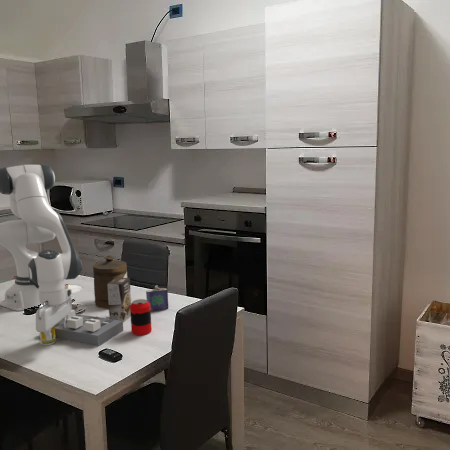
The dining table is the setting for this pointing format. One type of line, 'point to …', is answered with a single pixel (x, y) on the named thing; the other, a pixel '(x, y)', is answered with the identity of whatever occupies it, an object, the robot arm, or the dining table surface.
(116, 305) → the coffee box
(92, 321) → the slider
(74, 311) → the slider
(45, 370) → the dining table surface
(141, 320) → the soda can
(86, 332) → the switch panel
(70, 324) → the slider
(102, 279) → the wooden container
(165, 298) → the flask
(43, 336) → the supplement bottle
